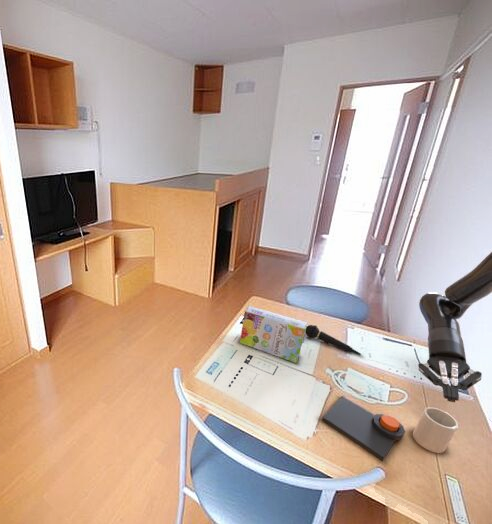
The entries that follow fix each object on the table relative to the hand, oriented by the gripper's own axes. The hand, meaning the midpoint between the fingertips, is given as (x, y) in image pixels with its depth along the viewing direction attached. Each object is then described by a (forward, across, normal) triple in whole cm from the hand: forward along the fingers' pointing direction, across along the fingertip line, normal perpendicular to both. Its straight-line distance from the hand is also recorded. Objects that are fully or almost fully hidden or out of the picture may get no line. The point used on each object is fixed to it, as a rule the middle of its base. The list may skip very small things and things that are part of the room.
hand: (451, 400), depth 79 cm
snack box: (-8, -49, +2) cm, 50 cm away
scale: (+12, -19, +4) cm, 23 cm away
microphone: (-23, -32, +14) cm, 42 cm away
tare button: (+9, -13, +4) cm, 16 cm away
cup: (+8, -5, +10) cm, 14 cm away
